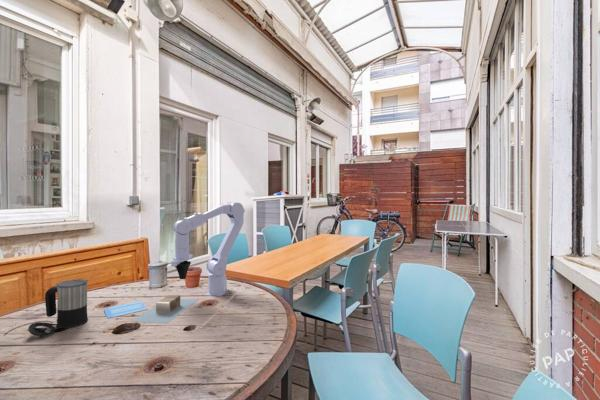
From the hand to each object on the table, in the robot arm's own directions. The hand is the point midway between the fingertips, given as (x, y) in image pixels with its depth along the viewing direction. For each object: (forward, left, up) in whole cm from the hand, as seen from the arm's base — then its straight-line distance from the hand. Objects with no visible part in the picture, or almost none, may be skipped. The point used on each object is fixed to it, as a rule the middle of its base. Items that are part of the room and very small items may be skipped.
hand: (182, 278), depth 130 cm
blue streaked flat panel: (+14, -17, -10) cm, 24 cm away
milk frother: (+30, -29, -10) cm, 43 cm away
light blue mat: (+12, 0, -10) cm, 15 cm away
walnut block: (+7, 0, -7) cm, 10 cm away
